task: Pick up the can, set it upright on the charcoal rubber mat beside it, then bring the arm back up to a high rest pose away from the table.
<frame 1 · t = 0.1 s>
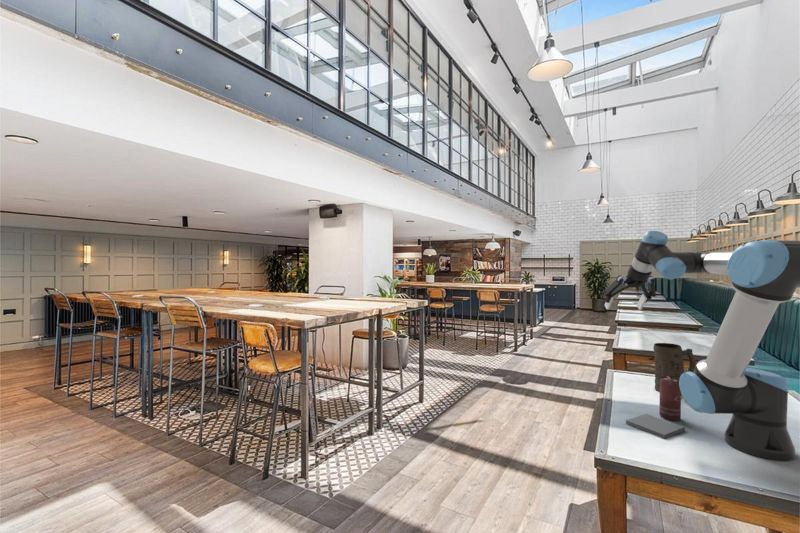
hand: (622, 307, 159), 36 cm above the table, tool tilted 35°, fingers open, 13 cm apart
beer stein: (673, 391, 159), on the table
can: (669, 418, 133), on the table
mat: (654, 427, 125), on the table
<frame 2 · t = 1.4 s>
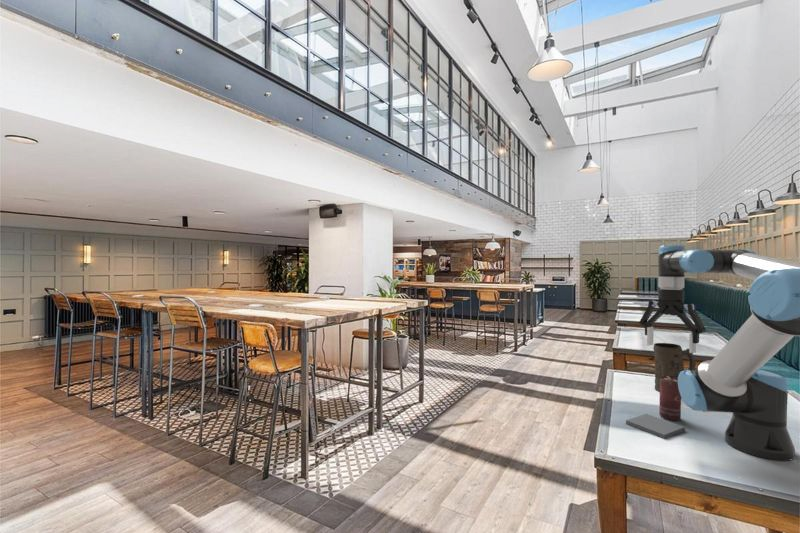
hand: (670, 348, 132), 25 cm above the table, tool pointing down, fingers open, 13 cm apart
nothing on the table moved.
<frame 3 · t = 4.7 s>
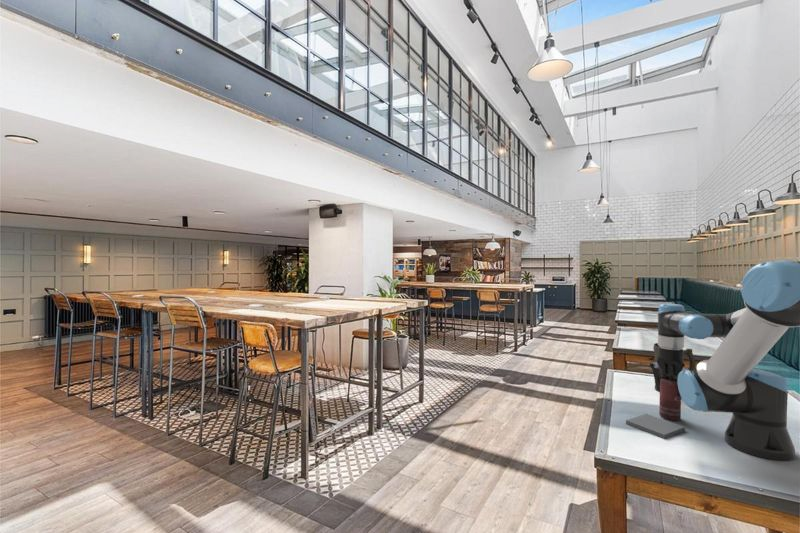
hand: (669, 413, 133), 1 cm above the table, tool pointing down, fingers closed
can: (669, 418, 133), on the table, touching hand
everything else where it was.
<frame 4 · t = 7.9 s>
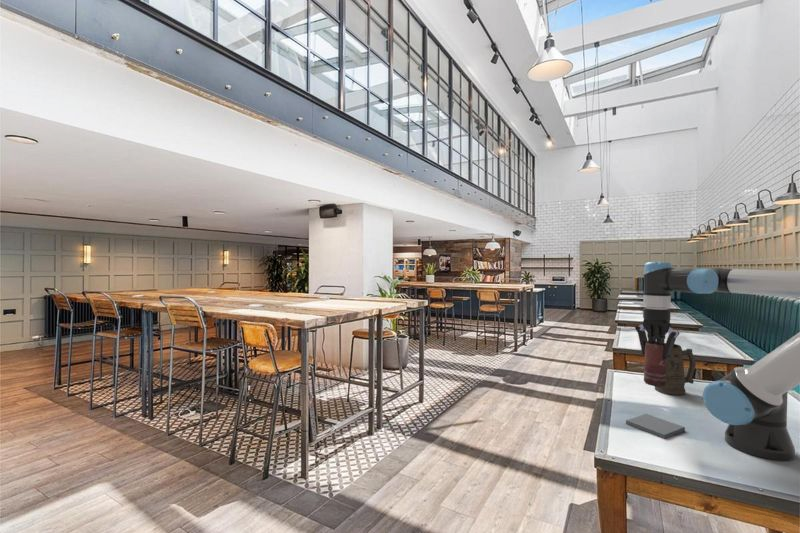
hand: (655, 378, 125), 16 cm above the table, tool pointing down, fingers closed
can: (654, 384, 125), point 14 cm above the table, touching hand
everything else where it was.
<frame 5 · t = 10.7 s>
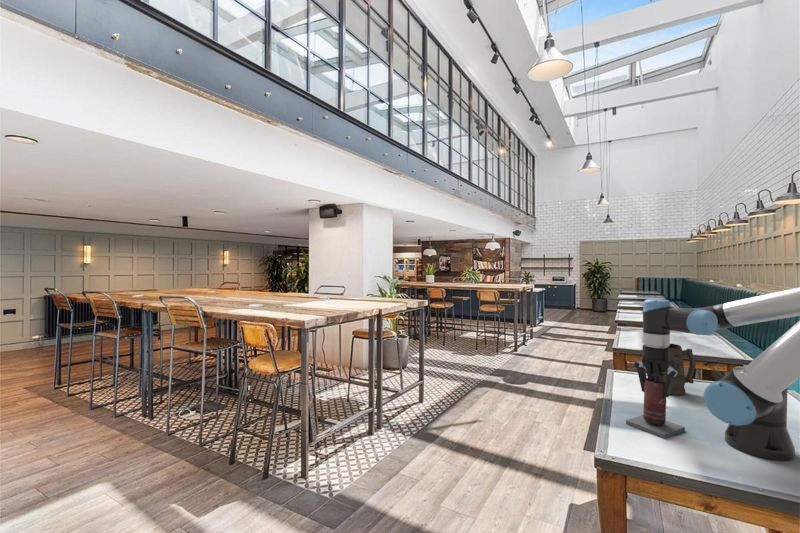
hand: (655, 415, 125), 4 cm above the table, tool pointing down, fingers closed
can: (653, 421, 125), point 2 cm above the table, touching hand
everything else where it was.
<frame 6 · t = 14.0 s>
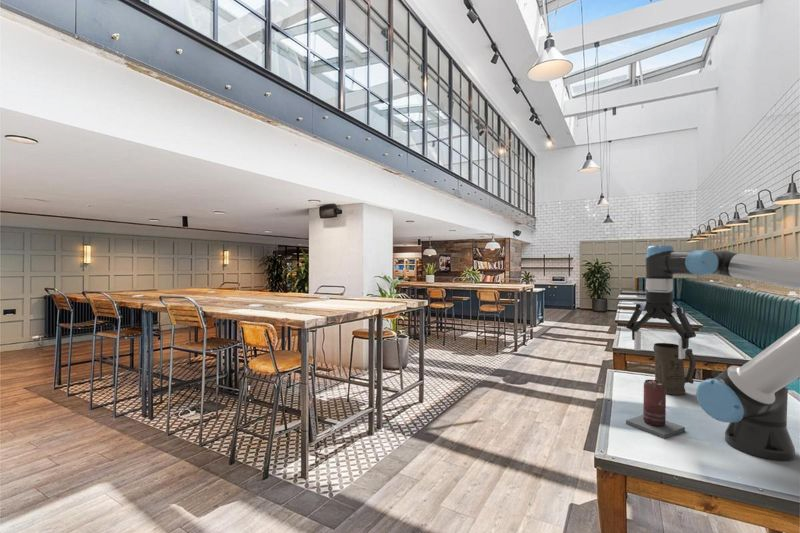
hand: (658, 354, 126), 24 cm above the table, tool pointing down, fingers open, 13 cm apart
can: (653, 423, 125), point 1 cm above the table, touching mat
everything else where it was.
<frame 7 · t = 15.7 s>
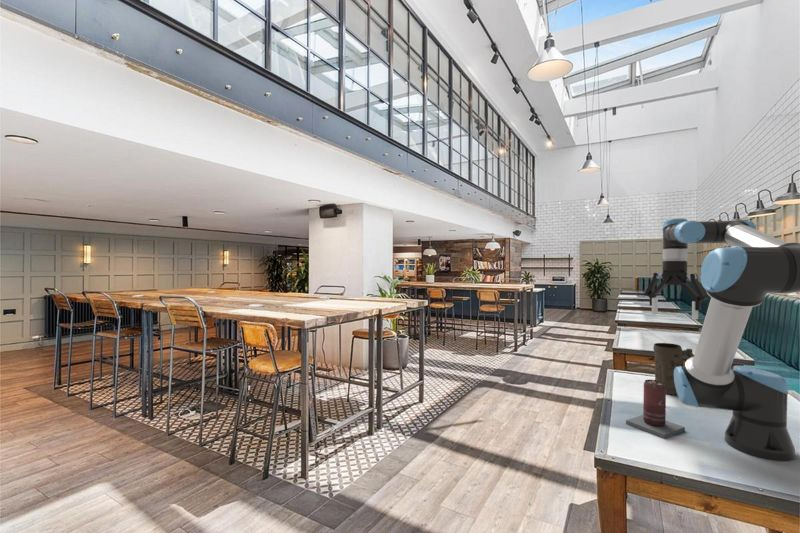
hand: (673, 316, 140), 35 cm above the table, tool pointing down, fingers open, 13 cm apart
nothing on the table moved.
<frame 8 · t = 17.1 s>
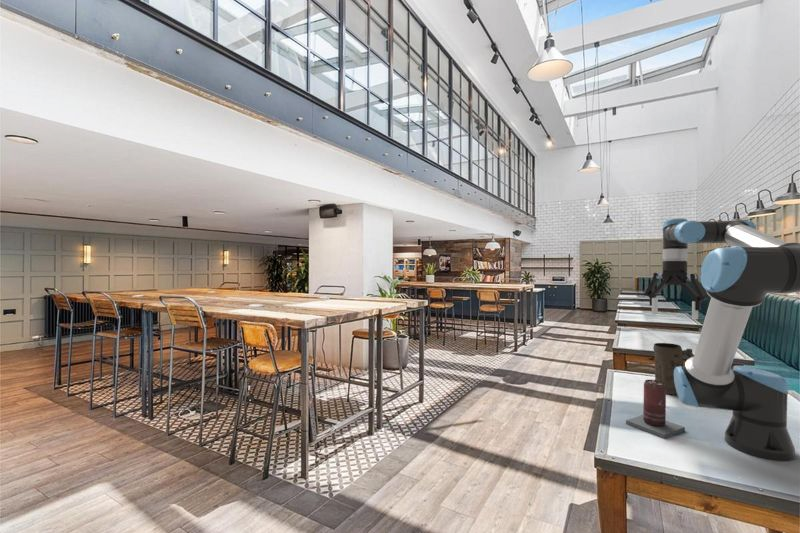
hand: (673, 316, 140), 35 cm above the table, tool pointing down, fingers open, 13 cm apart
nothing on the table moved.
at the end: can inside the target area on the mat (0.3 cm from its centre), point 1.0 cm above the mat's base; can tilted 0°; the gripper is holding nothing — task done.
